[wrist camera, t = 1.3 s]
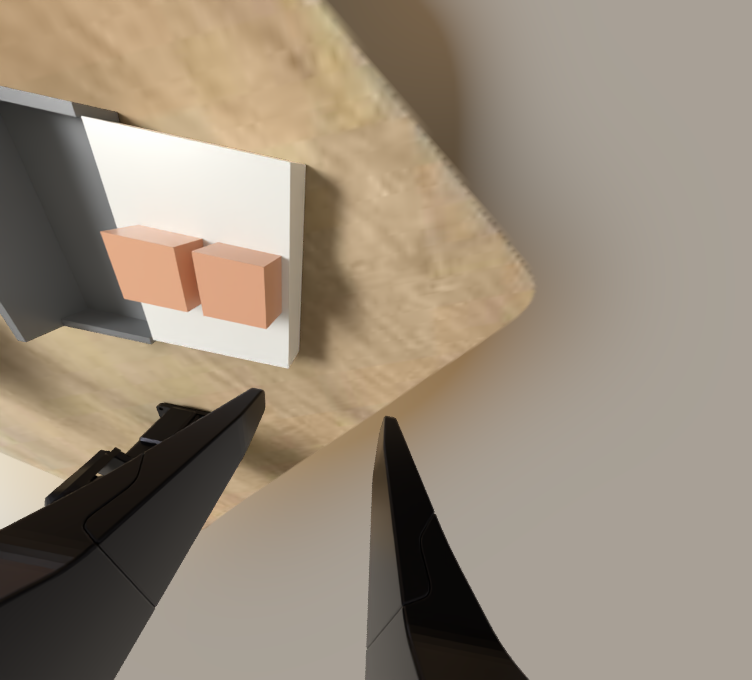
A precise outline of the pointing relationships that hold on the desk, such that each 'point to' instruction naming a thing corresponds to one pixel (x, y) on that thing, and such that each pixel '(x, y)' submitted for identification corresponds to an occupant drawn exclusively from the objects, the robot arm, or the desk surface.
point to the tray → (56, 224)
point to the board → (209, 223)
